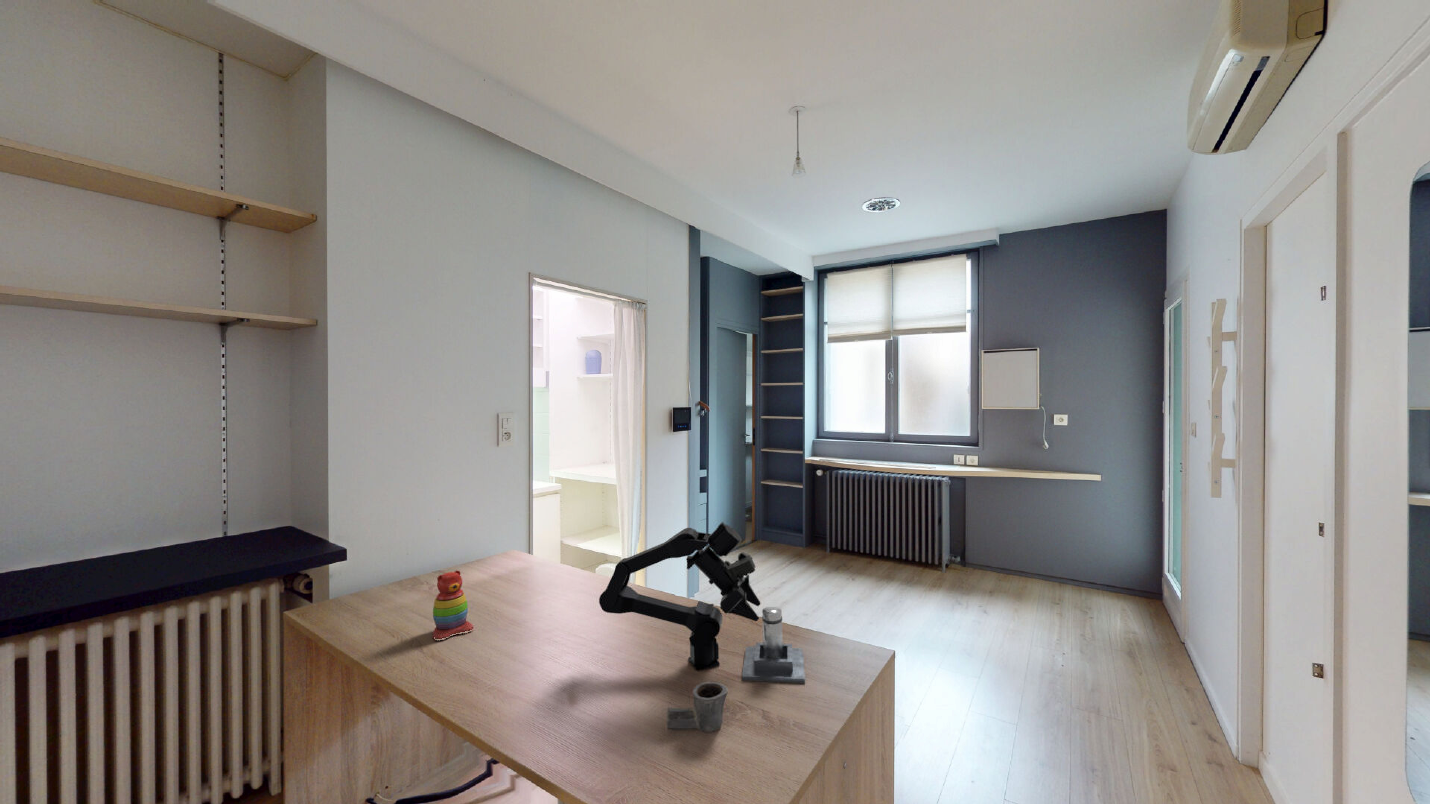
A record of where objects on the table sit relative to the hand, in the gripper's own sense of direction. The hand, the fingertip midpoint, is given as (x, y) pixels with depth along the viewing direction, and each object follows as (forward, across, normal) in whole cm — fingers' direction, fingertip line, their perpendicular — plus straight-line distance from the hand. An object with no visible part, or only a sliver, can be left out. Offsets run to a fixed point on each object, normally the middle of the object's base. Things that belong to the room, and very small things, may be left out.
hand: (758, 612), depth 133 cm
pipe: (+2, -26, +18) cm, 32 cm away
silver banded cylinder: (+11, 0, +6) cm, 13 cm away
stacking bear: (-56, +12, +76) cm, 95 cm away
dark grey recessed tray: (+12, 0, +7) cm, 14 cm away
